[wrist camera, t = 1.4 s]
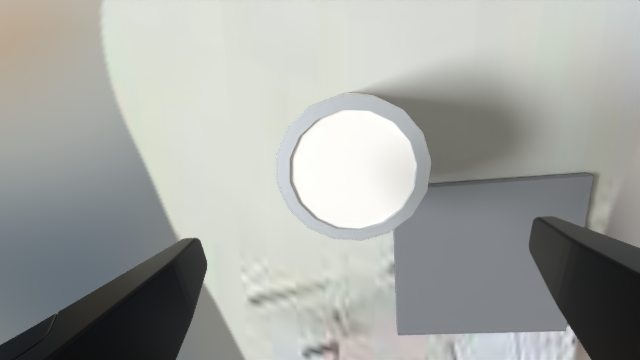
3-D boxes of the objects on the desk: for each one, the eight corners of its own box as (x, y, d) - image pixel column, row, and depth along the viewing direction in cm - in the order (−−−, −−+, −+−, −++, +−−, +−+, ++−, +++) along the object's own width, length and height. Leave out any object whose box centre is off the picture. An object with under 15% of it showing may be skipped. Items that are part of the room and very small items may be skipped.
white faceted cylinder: (338, 57, 20) (335, 57, 13) (428, 126, 21) (467, 158, 14) (276, 148, 22) (246, 188, 15) (359, 206, 23) (365, 267, 16)
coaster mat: (560, 324, 25) (565, 331, 24) (396, 329, 26) (398, 335, 26) (587, 172, 21) (593, 176, 20) (391, 186, 22) (393, 189, 21)
